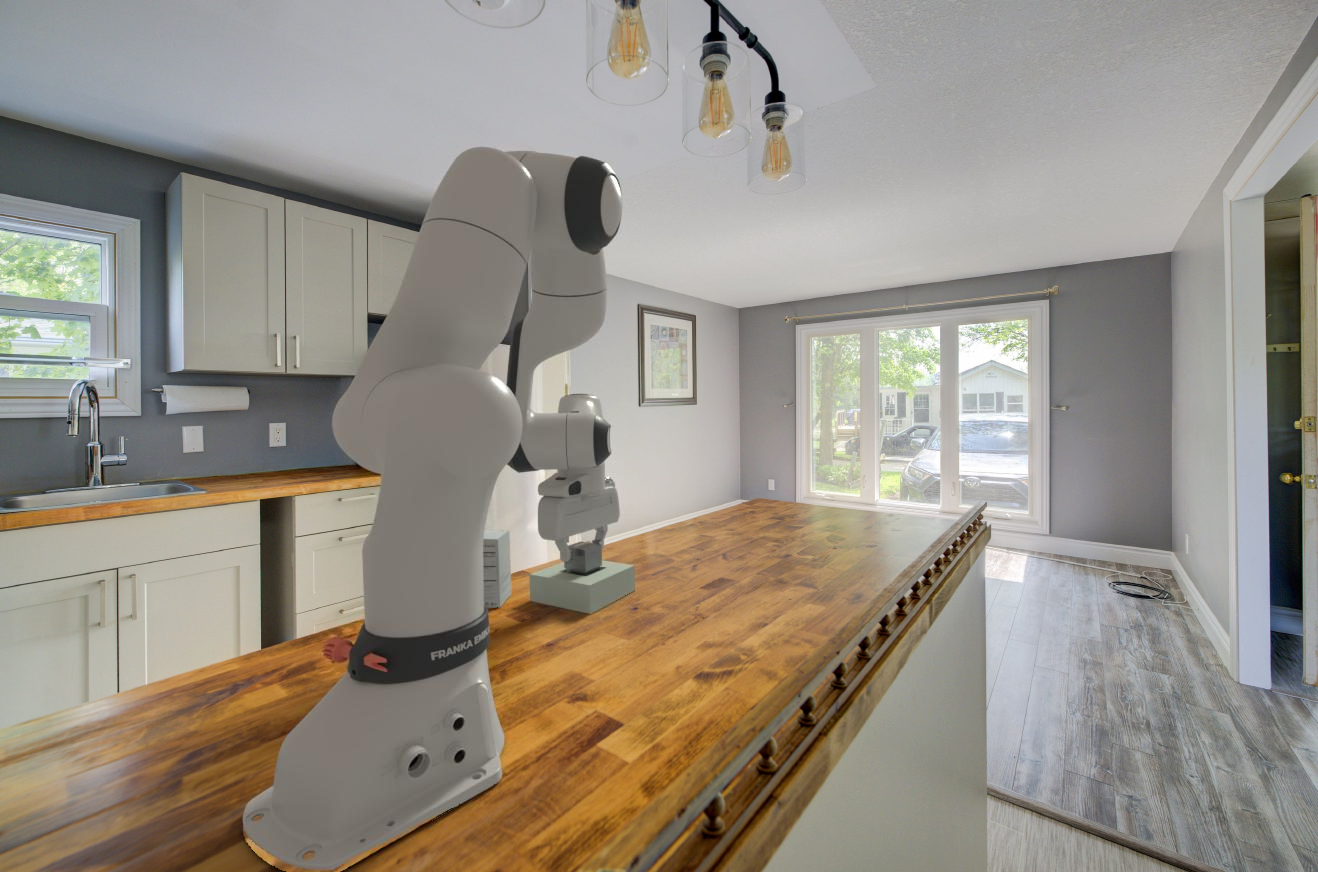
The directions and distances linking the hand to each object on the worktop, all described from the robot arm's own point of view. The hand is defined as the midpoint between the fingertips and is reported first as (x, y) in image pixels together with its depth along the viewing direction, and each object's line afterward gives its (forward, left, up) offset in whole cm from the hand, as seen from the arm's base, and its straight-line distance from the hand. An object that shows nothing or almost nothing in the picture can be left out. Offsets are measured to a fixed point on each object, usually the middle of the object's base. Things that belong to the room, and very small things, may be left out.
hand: (582, 554), depth 104 cm
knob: (0, 0, -6) cm, 6 cm away
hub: (0, 0, -8) cm, 8 cm away
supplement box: (-11, +14, -8) cm, 20 cm away
